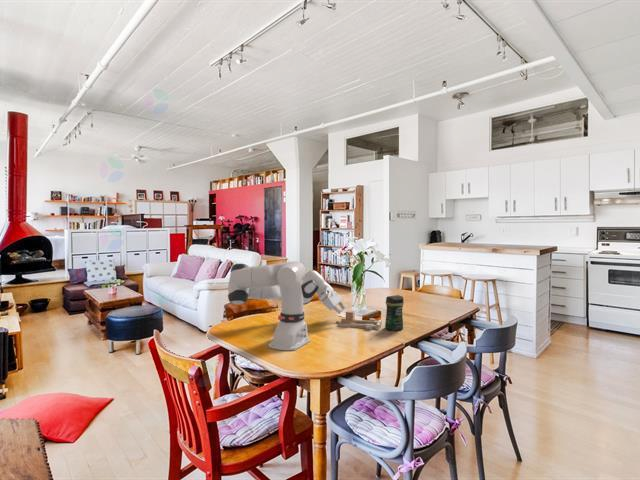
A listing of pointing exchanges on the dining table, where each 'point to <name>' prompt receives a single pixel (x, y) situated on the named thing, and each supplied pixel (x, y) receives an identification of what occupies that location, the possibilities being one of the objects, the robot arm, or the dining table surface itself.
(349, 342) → the dining table surface
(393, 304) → the coffee jar
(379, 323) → the comb track
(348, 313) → the marker sleeve
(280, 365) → the dining table surface
